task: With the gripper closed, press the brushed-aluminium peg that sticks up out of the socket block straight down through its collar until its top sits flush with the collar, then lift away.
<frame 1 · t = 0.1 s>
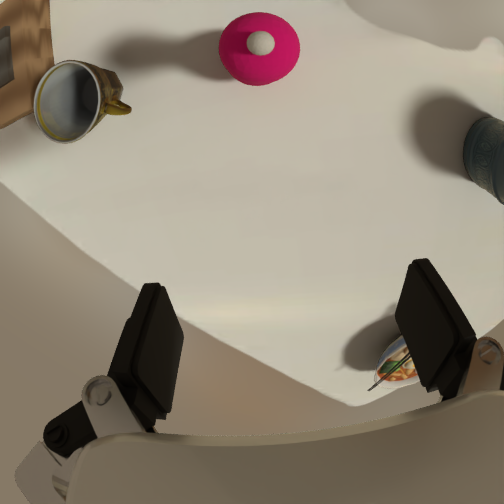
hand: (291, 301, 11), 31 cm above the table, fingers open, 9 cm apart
canister: (485, 150, 36), on the table
ceramic cup: (111, 93, 32), on the table
ramen bowl: (408, 340, 63), on the table
pepper mill: (256, 58, 31), on the table
socket block: (21, 60, 26), on the table
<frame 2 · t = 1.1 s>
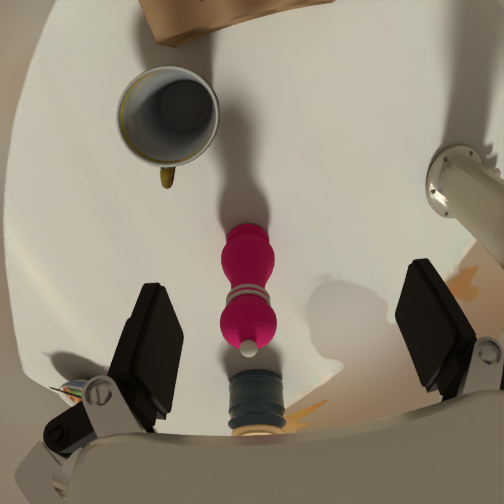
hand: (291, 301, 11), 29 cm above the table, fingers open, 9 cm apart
canister: (255, 381, 67), on the table
ceramic cup: (185, 116, 33), on the table
ramen bowl: (98, 386, 72), on the table
pepper mill: (247, 240, 44), on the table
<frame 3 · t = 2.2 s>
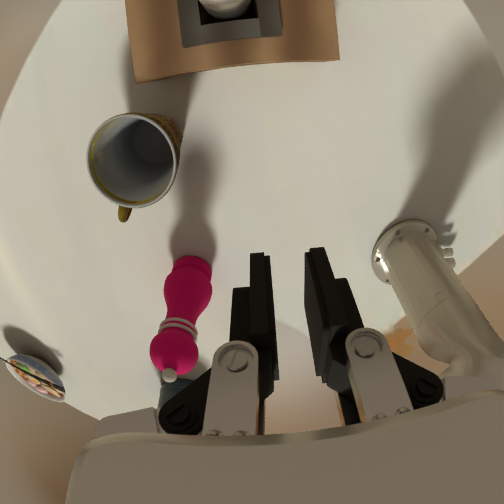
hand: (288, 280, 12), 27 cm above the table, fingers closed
canister: (185, 389, 69), on the table
ceramic cup: (155, 149, 35), on the table
ramen bowl: (42, 363, 69), on the table
pepper mill: (192, 270, 46), on the table
socket block: (232, 14, 25), on the table
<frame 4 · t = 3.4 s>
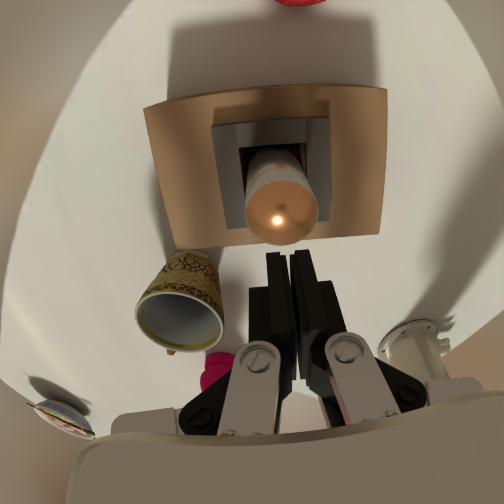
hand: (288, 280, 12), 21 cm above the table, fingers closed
peg: (277, 188, 20), point 11 cm above the table, slide at 6.5 cm
ceramic cup: (190, 276, 39), on the table
ramen bowl: (68, 406, 73), on the table
pepper mill: (222, 361, 51), on the table
socket block: (269, 150, 30), on the table
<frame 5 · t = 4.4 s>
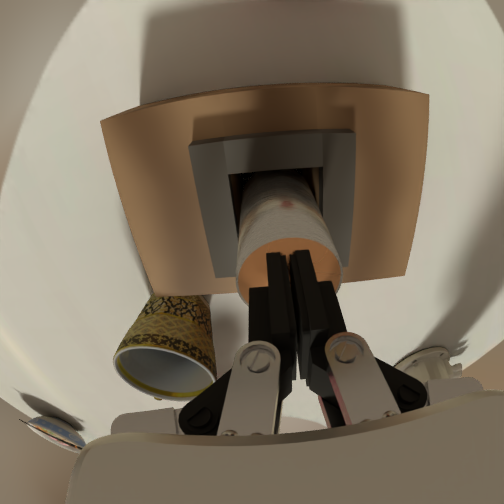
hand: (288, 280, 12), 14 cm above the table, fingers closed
peg: (282, 231, 15), point 10 cm above the table, slide at 5.8 cm, touching gripper
ceramic cup: (178, 311, 34), on the table
ramen bowl: (62, 421, 67), on the table
socket block: (271, 167, 24), on the table
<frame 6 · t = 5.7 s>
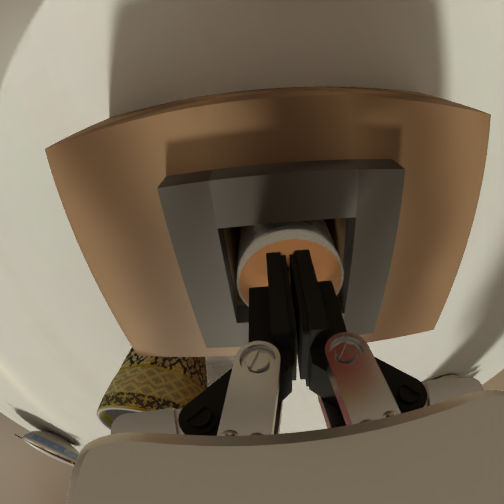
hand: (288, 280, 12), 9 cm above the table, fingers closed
peg: (282, 232, 15), point 5 cm above the table, slide at 0.1 cm, touching gripper
ceramic cup: (169, 350, 29), on the table
ramen bowl: (58, 436, 62), on the table
socket block: (276, 196, 19), on the table
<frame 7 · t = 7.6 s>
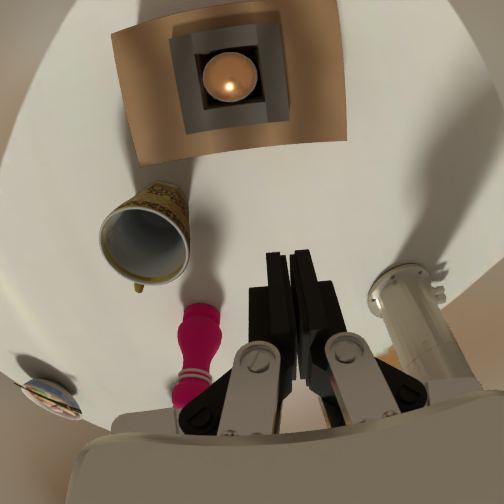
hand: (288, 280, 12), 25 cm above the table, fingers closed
peg: (231, 75, 24), point 5 cm above the table, slide at 0.0 cm
ceramic cup: (161, 213, 38), on the table
ramen bowl: (56, 385, 72), on the table
pepper mill: (202, 314, 49), on the table
socket block: (233, 74, 27), on the table
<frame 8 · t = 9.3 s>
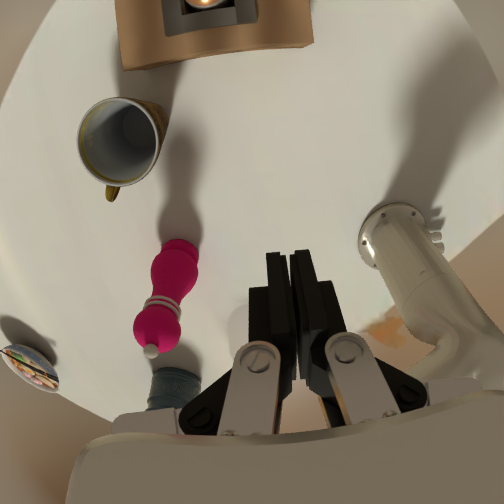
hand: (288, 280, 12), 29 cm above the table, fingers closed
canister: (177, 378, 70), on the table
ceramic cup: (143, 134, 36), on the table
ramen bowl: (37, 354, 69), on the table
pepper mill: (180, 254, 47), on the table
socket block: (215, 6, 26), on the table
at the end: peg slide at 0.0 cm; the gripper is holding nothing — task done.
